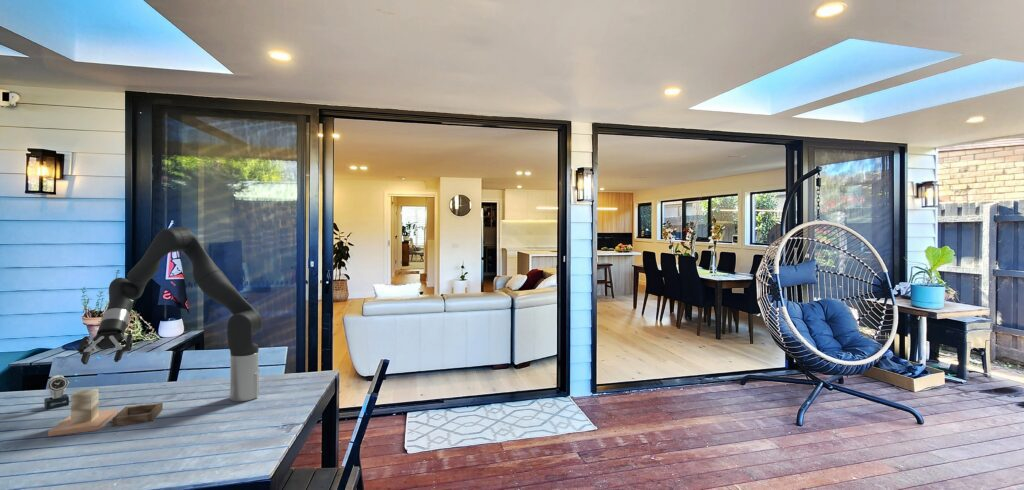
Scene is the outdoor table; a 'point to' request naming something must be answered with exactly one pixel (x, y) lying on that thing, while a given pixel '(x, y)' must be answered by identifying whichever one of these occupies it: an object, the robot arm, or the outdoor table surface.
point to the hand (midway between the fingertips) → (100, 362)
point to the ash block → (84, 406)
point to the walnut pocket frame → (124, 419)
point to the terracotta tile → (82, 424)
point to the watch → (57, 393)
